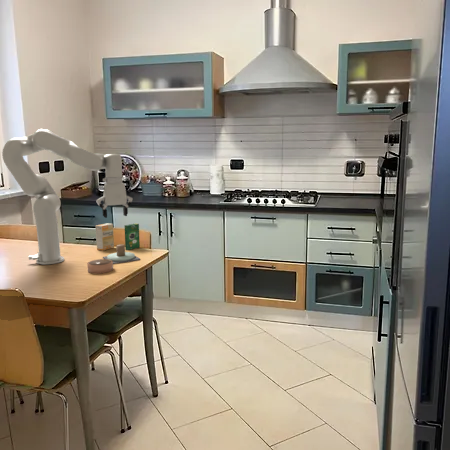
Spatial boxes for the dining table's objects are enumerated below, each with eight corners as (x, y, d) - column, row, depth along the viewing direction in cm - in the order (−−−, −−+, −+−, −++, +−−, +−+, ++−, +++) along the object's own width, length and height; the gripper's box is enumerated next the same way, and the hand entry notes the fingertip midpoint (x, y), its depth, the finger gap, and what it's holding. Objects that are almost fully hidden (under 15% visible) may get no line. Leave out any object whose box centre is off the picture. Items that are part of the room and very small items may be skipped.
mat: (111, 264, 220) (111, 263, 220) (102, 257, 232) (102, 256, 231) (140, 260, 227) (140, 258, 227) (130, 253, 239) (130, 252, 238)
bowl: (91, 275, 204) (91, 266, 203) (84, 269, 213) (84, 261, 212) (116, 270, 209) (116, 263, 209) (108, 265, 219) (108, 257, 218)
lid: (112, 262, 220) (111, 249, 219) (103, 256, 231) (103, 244, 230) (138, 258, 227) (138, 246, 226) (129, 253, 238) (128, 241, 237)
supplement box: (103, 250, 246) (101, 226, 243) (96, 249, 248) (95, 225, 246) (114, 247, 252) (113, 223, 250) (108, 246, 255) (106, 222, 252)
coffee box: (136, 246, 254) (135, 222, 251) (140, 247, 252) (139, 223, 249) (125, 249, 247) (123, 225, 245) (128, 250, 246) (127, 225, 243)
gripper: (97, 182, 215) (99, 219, 218) (134, 180, 223) (135, 216, 227) (93, 180, 221) (95, 216, 224) (129, 179, 230) (130, 213, 233)
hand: (115, 216), depth 225 cm, fingers open, 9 cm apart
